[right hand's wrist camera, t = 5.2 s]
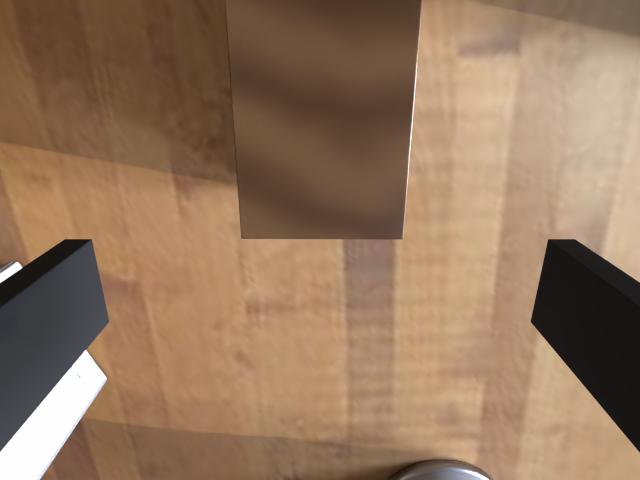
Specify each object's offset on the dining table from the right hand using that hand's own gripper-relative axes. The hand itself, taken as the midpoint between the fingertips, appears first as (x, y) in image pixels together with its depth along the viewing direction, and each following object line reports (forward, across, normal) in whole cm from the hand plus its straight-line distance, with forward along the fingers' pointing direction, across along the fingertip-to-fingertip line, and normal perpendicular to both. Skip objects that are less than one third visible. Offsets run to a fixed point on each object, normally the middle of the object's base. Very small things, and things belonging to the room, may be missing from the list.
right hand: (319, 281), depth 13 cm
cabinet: (+26, 0, -4) cm, 26 cm away
